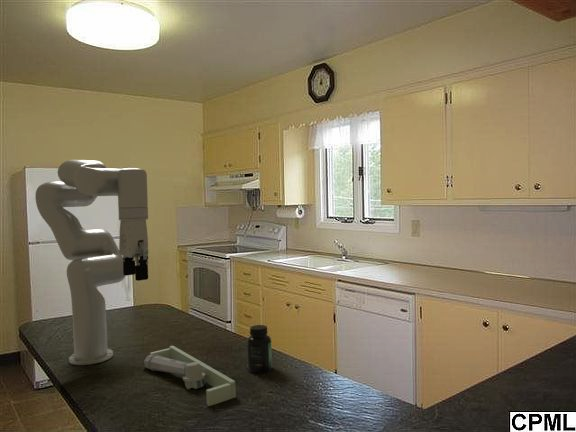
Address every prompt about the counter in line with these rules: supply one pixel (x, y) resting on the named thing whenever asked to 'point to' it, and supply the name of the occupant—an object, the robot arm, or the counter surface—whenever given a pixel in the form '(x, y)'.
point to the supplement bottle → (259, 350)
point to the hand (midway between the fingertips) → (135, 277)
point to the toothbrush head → (177, 369)
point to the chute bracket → (219, 381)
